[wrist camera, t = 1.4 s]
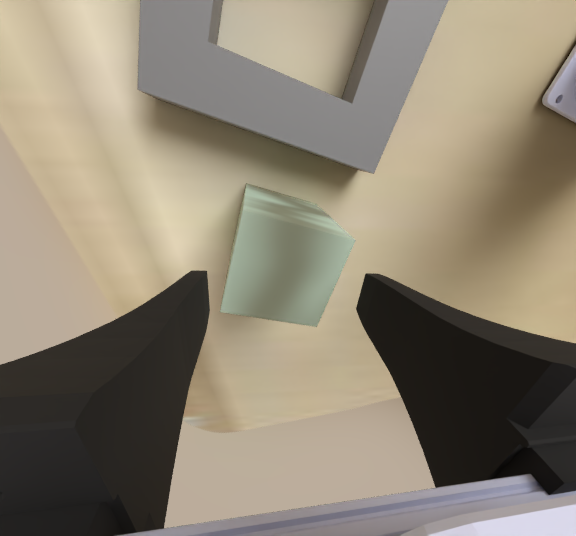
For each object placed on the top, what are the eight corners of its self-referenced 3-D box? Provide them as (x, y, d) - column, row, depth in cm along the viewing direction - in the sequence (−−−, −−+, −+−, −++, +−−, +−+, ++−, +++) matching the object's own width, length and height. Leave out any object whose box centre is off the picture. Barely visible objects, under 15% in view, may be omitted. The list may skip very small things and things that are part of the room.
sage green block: (315, 204, 18) (355, 240, 11) (294, 265, 21) (316, 327, 14) (246, 183, 17) (243, 210, 10) (231, 251, 19) (219, 311, 12)
